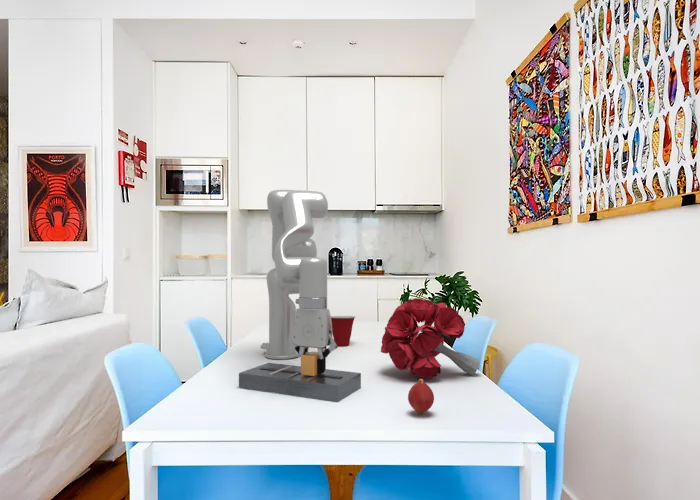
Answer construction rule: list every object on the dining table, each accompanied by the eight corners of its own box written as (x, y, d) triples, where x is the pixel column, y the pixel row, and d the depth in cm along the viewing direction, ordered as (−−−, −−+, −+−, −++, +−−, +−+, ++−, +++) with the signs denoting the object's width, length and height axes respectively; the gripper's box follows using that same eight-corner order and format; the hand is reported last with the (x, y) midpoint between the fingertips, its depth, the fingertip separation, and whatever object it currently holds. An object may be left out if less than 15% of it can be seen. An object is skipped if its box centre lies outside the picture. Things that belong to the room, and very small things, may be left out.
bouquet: (448, 386, 156) (368, 341, 155) (485, 324, 155) (405, 278, 154) (463, 412, 135) (371, 360, 134) (507, 341, 133) (413, 287, 133)
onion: (405, 410, 111) (405, 375, 111) (430, 409, 112) (430, 375, 112) (411, 418, 105) (411, 382, 105) (436, 418, 106) (436, 381, 106)
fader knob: (300, 374, 126) (300, 354, 127) (311, 369, 132) (311, 350, 132) (314, 376, 125) (314, 355, 125) (325, 371, 130) (325, 351, 130)
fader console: (238, 387, 130) (238, 371, 130) (268, 376, 143) (268, 361, 143) (337, 402, 117) (337, 384, 117) (360, 387, 130) (360, 371, 130)
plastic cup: (355, 342, 198) (355, 313, 198) (355, 347, 187) (355, 317, 187) (329, 342, 198) (329, 313, 198) (327, 347, 187) (327, 316, 187)
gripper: (279, 303, 129) (278, 372, 128) (334, 306, 122) (334, 378, 121) (293, 301, 135) (293, 366, 135) (347, 303, 128) (347, 372, 128)
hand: (313, 371), depth 128 cm, fingers closed on fader knob, 4 cm apart
